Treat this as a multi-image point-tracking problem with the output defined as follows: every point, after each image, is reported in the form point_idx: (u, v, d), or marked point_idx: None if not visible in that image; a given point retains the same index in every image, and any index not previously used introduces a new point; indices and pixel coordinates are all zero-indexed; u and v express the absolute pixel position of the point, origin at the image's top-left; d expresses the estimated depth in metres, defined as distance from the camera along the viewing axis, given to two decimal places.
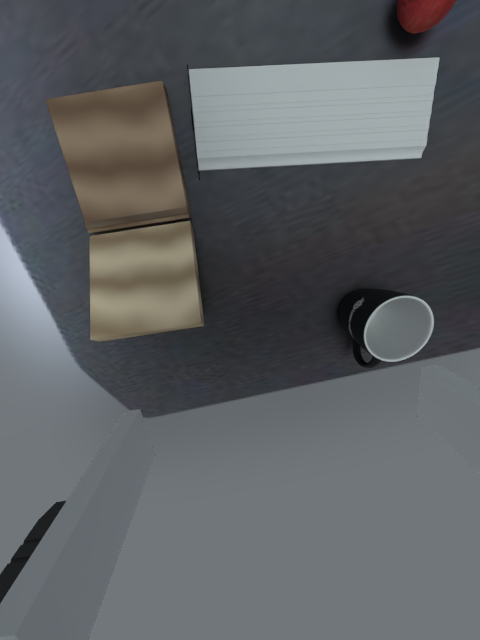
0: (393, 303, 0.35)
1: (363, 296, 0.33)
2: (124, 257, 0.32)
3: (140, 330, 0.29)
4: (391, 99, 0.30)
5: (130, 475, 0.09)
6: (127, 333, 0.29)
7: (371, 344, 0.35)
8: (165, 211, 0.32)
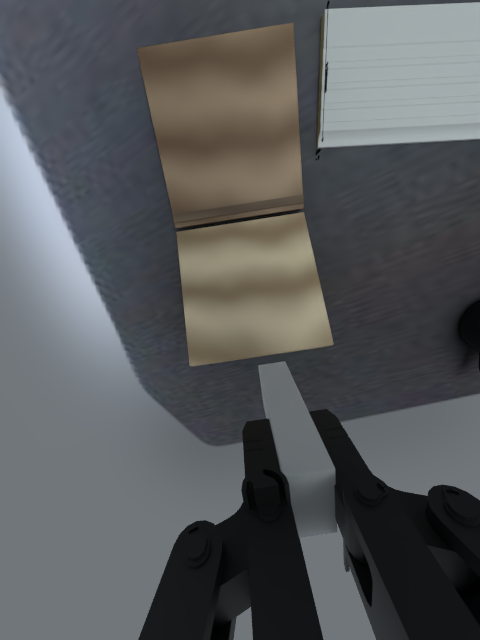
0: None
1: None
2: (224, 258, 0.25)
3: (254, 353, 0.23)
4: None
5: None
6: (237, 358, 0.23)
7: None
8: (275, 200, 0.25)
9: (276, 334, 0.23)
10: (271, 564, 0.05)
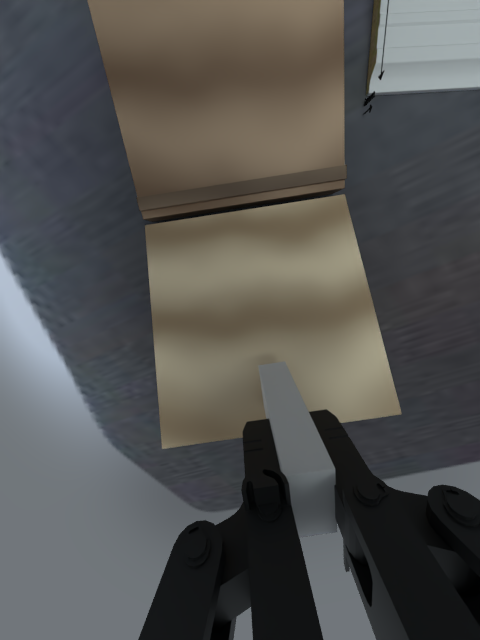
0: None
1: None
2: (219, 268, 0.16)
3: None
4: None
5: None
6: (241, 435, 0.14)
7: None
8: (301, 174, 0.16)
9: (305, 395, 0.14)
10: (271, 564, 0.05)
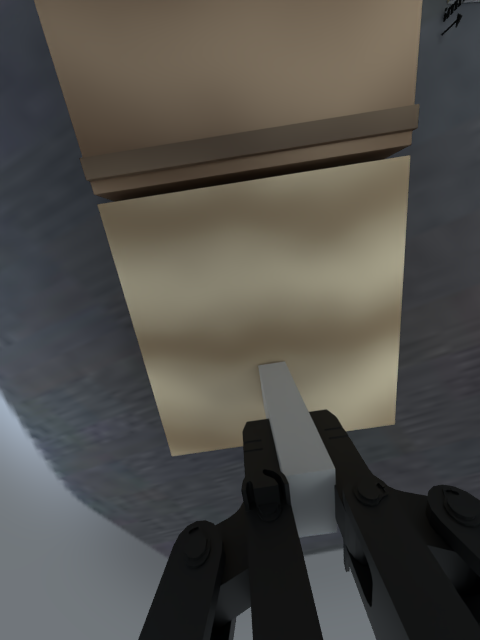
0: None
1: None
2: (218, 277, 0.12)
3: None
4: None
5: None
6: None
7: None
8: (345, 121, 0.10)
9: None
10: (271, 564, 0.05)
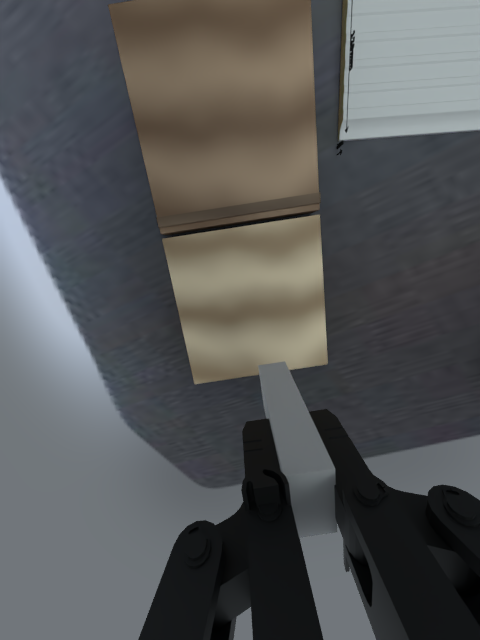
0: None
1: None
2: (223, 275, 0.22)
3: (255, 373, 0.24)
4: None
5: None
6: (238, 376, 0.24)
7: None
8: (285, 199, 0.20)
9: (276, 356, 0.24)
10: (271, 564, 0.05)
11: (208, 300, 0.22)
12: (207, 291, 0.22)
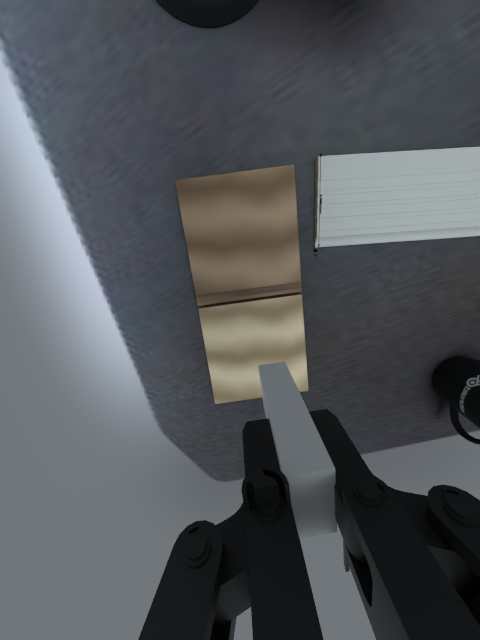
0: None
1: (477, 373, 0.32)
2: (237, 332, 0.32)
3: (257, 396, 0.35)
4: None
5: None
6: (246, 398, 0.35)
7: None
8: (279, 286, 0.31)
9: None
10: (271, 564, 0.05)
11: (227, 347, 0.33)
12: (226, 341, 0.33)
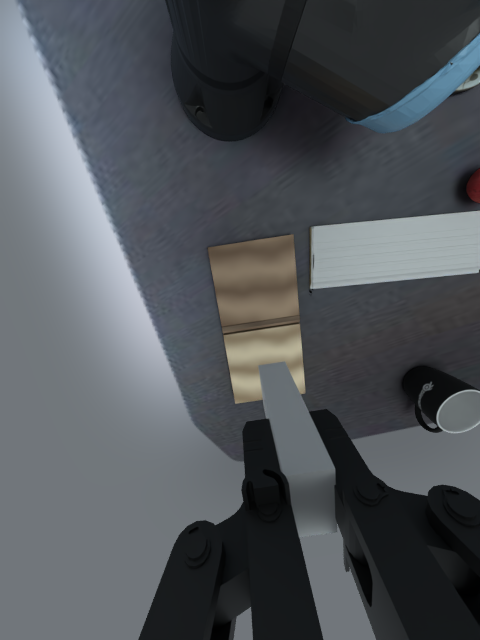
0: None
1: (431, 380, 0.43)
2: (252, 351, 0.44)
3: None
4: (458, 237, 0.40)
5: None
6: (258, 399, 0.47)
7: None
8: (283, 318, 0.42)
9: None
10: (271, 564, 0.05)
11: (244, 362, 0.44)
12: (244, 358, 0.44)
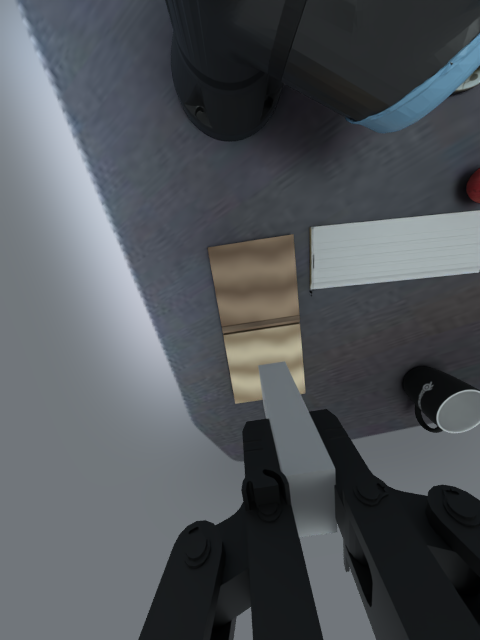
0: None
1: (431, 380, 0.43)
2: (252, 351, 0.44)
3: None
4: (458, 237, 0.40)
5: None
6: (258, 399, 0.47)
7: None
8: (283, 318, 0.42)
9: None
10: (271, 564, 0.05)
11: (244, 362, 0.44)
12: (244, 358, 0.44)
